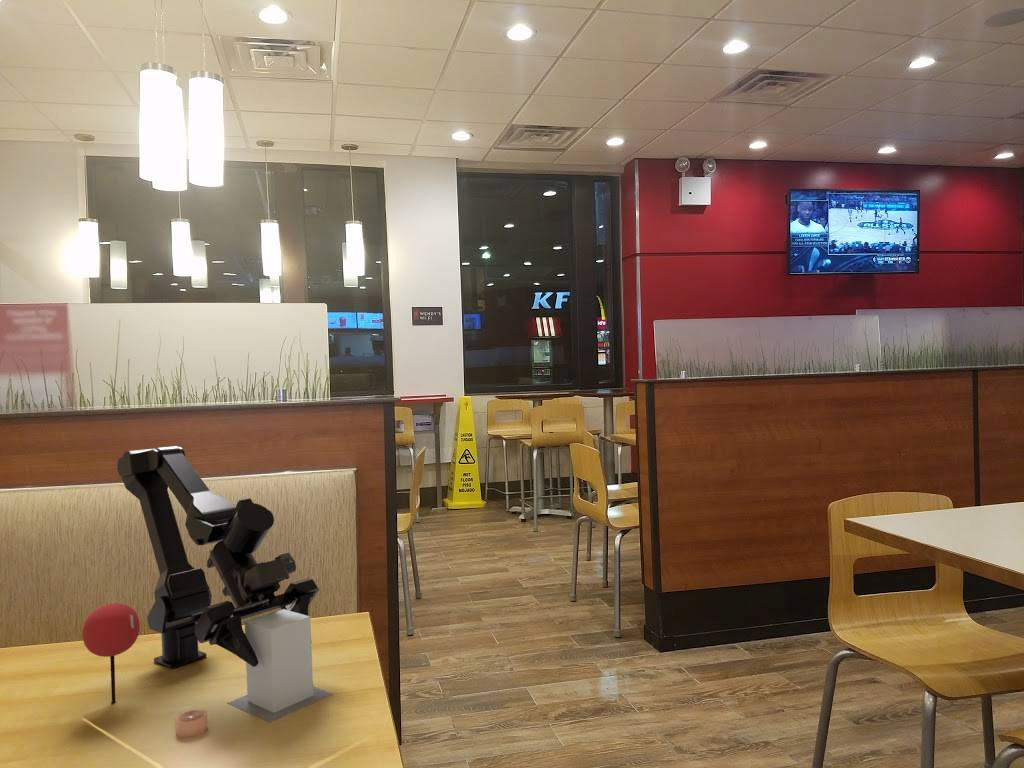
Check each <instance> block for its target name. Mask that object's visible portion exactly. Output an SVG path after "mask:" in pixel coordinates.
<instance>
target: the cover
mask: <svg viewBox="0 0 1024 768" xmlns="http://www.w3.org/2000/svg"><path fill="white" fill-rule="evenodd" d="M311 629H312V627H311V616H309V615H308V616H306V615H303V614H299V613H296V612H292V611H289V610H285V609H283V610H282V609H280V610H277V611H274V612H271V613H268V614H267V613H266V614H264V615H261V616H257V617H254V618H251V619H248V620H245V621H244V633H245V635H246V637H247V639H248V641H249V642H250V644H251V646H252V648H253V650H254V652H255V654H256V657H257V659H258V665H257V666H256V667H253V666H251V665H250V664H248V663H247V662H245V665H246V666H245V668H246V669H245V670H246V688H247V689H246V692H247V693H246V695H247V696H248V702H251V703H253V704H255V705H258V706H260V707H262V708H264V709H267V710H269V711H271V712H274V713H275V712H277V711H279V710H282V709H284V708H286V707H288V706H291V705H293V704H295V703H298V702H300V701H302V700H304V699H307V698H309V697H311V696H313V686H314V681H313V679H314V678H313V655H312V651H313V650H312V648H313V647H312V643H311V641H312V630H311Z"/></svg>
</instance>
